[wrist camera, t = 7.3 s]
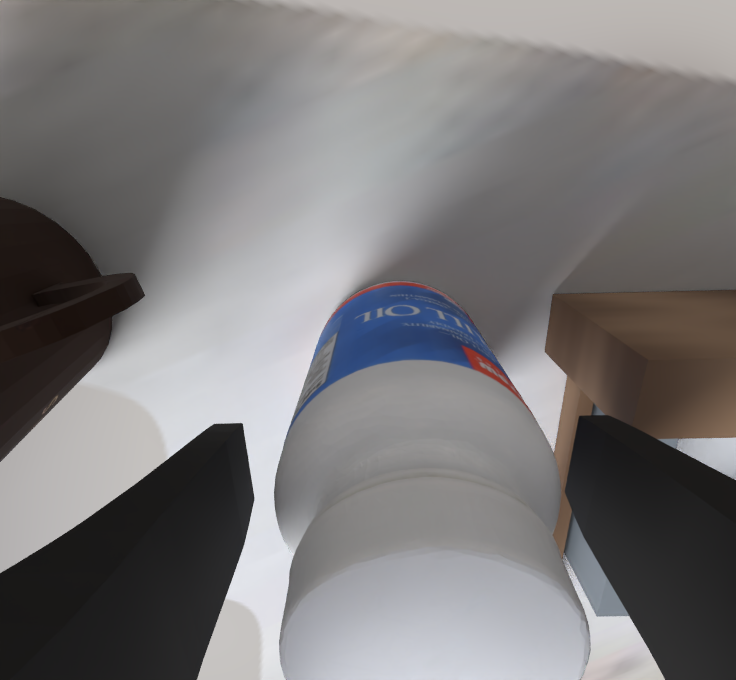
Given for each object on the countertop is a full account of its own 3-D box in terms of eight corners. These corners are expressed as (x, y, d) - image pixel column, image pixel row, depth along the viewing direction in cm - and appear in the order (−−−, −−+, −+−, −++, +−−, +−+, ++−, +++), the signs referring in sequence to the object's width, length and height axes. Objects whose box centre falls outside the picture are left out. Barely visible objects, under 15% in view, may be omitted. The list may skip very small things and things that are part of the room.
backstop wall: (933, 285, 14) (1227, 347, 9) (774, 610, 19) (904, 752, 15) (552, 294, 14) (647, 359, 9) (506, 615, 19) (550, 757, 15)
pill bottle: (505, 308, 14) (762, 577, 5) (439, 439, 16) (534, 808, 7) (344, 251, 13) (294, 439, 4) (295, 396, 15) (188, 742, 6)
